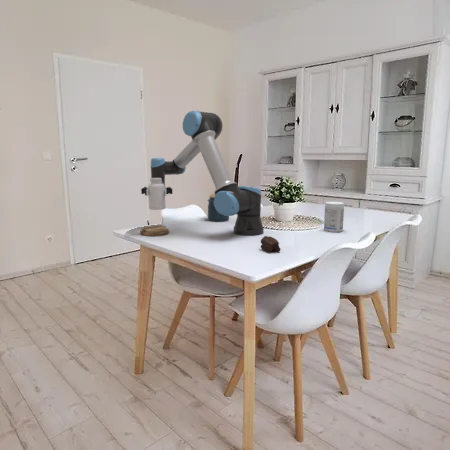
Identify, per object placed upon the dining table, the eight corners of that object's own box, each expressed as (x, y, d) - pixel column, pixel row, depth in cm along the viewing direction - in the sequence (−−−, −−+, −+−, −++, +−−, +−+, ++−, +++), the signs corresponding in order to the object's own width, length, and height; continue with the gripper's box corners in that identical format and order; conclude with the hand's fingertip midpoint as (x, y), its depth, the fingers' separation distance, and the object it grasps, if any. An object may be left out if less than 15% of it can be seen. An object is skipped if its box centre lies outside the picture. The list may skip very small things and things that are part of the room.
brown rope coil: (174, 233, 184) (174, 227, 183) (150, 237, 174) (150, 231, 173) (158, 229, 193) (158, 223, 193) (134, 233, 184) (134, 227, 183)
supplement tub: (335, 228, 200) (337, 201, 197) (346, 231, 191) (348, 203, 188) (319, 229, 196) (321, 201, 194) (330, 233, 188) (332, 204, 185)
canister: (229, 221, 215) (229, 191, 212) (207, 221, 215) (207, 191, 212) (229, 218, 228) (229, 189, 225) (208, 218, 228) (208, 189, 225)
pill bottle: (157, 210, 176) (155, 178, 173) (145, 209, 180) (143, 178, 178) (169, 208, 182) (167, 177, 179) (157, 207, 187) (155, 177, 184)
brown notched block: (283, 240, 148) (266, 231, 156) (271, 249, 146) (255, 240, 154) (285, 251, 152) (269, 242, 159) (274, 260, 149) (258, 251, 157)
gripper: (177, 195, 200) (178, 200, 178) (138, 195, 197) (134, 201, 175) (177, 181, 199) (178, 185, 177) (137, 181, 196) (133, 185, 174)
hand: (156, 193), depth 176 cm, fingers closed on pill bottle, 8 cm apart
